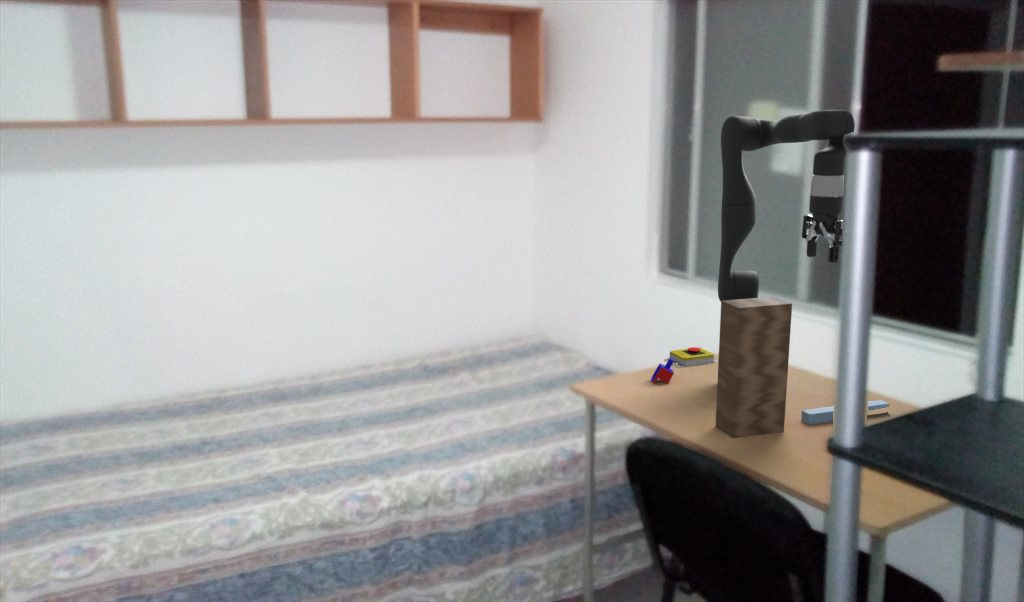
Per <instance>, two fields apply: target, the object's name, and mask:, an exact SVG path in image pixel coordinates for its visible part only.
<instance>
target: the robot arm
mask: <svg viewBox="0 0 1024 602" xmlns="http://www.w3.org/2000/svg"><path fill="white" fill-rule="evenodd" d="M855 126H856V124H855V118H854V116H853V114H852V113H851V112H850V111H849V110H846V109H821V110H820V109H819V110H814V111H809V112H805V113H804V112H803V113H797V114H790V115H789V114H788V115H786V116H782V117H781V118H779V119H776V120H767V119H760V118H756V117H752V116H740V115H730V116H728V117H727V118H726V119H725V120H724V122H723V123H722V126H721V131H720V151H721V164H722V165H721V167H722V192H721V193H722V196H721V215H720V218H721V222H720V223H721V225H720V226H721V229H720V232H721V236H720V237H721V239H720V241H721V242H720V243H721V244H720V258H719V267H718V269H719V270H718V279H717V296H718V300H719V301H720V302H721V301H724V300H737V299H749V298H759V289H760V278H759V277H760V276H759V275H758V273H757V271H755V270H739V269H732V266H733V265H732V264H733V261H734V259H735V256H736V255H737V253H738V251H739V249H740V247H741V246H742V244H743V243H744V242H745V240H747V237H749V235H750V234H751V232H752V230H753V229H754V226H755V224H756V222H757V220H756V219H757V217H756V216H757V198H756V195H755V191H754V190H753V186H752V185H751V183H750V181H749V179H748V177H747V175H746V173H745V169H744V166H743V165H744V162H743V161H744V160H743V152H755V151H757V150H760V149H763V148H767V147H769V146H772V145H777V144H795V143H796V144H797V143H798V144H799V143H806V142H807V143H808V142H811V141H827V143H826V146H825V147H824V148H823V149H821V150H818V151H816V152H815V154H814V155H813V165H812V166H813V168H812V177H811V178H812V179H811V182H810V193H809V204H808V205H809V209H808V211H809V213H810V214H804V215H803V220H802V229H801V230H802V231H801V238H802V239H805V241H806V256H807V257H808V258H815V257H816V256H817V246H818V244H817V243H818V242H817V240H818V239H819V238H820V236H823V237H824V239H825V240H827V242H828V245H829V247H828V256H827V257H828V258H827V259H828V260H827V261H828V263H831V264H832V263H838V261H839V254H840V248H841V247H842V239H841V236H842V228H843V219H842V220H839V215H840V214H841V213H842V212H843V201H844V191H845V189H844V188H845V179H844V178H845V176H844V174H845V162H846V156H847V154H846V150H845V147H844V145H843V137H844V135H845V134H848V133H851V132H854V133H855Z"/></svg>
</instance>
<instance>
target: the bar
mask: <svg viewBox="0 0 1024 602" xmlns="http://www.w3.org/2000/svg"><path fill="white" fill-rule="evenodd" d="M867 402H868V409H869V411H870V410H875V409H881V408H886V407H889V408H890V403H889V402H887V401H885V400H882V399H877V400H870V401H869V400H868V401H867ZM834 406H835V405H832V406H831V405H830V406H826V407H824V406H823V407H817V408H809V409H804V410H803V409H802V410H801V419H800V420H801V421H802V422H803V423H805V424H807V425H816V424H821V423H828V422H829V421H830V422H833V421H832V420H833V411H834Z"/></svg>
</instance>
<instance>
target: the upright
mask: <svg viewBox="0 0 1024 602" xmlns="http://www.w3.org/2000/svg"><path fill="white" fill-rule="evenodd" d="M792 312H793V302H792V303H791V302H788V301H786V300H783V299H781V298H778V297H774V296H763V297H758V298H749V299H737V300H724V301H720V316H719V317H720V321H719V323H720V325H719V340H718V341H719V342H718V343H719V344H718V360H717V361H718V362H717V364H718V365H717V384H716V385H717V386H716V387H717V388H716V410H715V427H716V428H717V429H718V430H720V431H721V432H723V433H724V434H725V435H727V436H729V438H731V439H739V438H746V437H754V436H761V435H769V434H777V433H784V432H785V423H786V422H785V420H786V419H785V418H786V405H787V404H786V403H787V391H788V390H787V387H788V377H789V376H788V375H789V373H788V372H789V358H790V343H791V328H792V327H791V326H792Z"/></svg>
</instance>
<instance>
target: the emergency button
mask: <svg viewBox="0 0 1024 602" xmlns="http://www.w3.org/2000/svg"><path fill="white" fill-rule="evenodd" d="M669 358H670V359H672V360H674V362H673V365H672V366H673V367H675V366H676V368H686V367H685V366H687V367H693V365H695V366H701V365H700V364H703V365H708V363H710V364H717V363H718V361H719V360H716V359H715V354H714V353H712V352H711V351H709V350H706V349H704V348H702V347H695V346H694V347H693V346H692V347H691V346H690V347H688V348H681V349H674V350H670V351H669V357H668V358H663V361H664V362H666V363H667V362H668V360H669ZM716 362H717V363H716ZM676 363H678V364H676Z"/></svg>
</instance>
